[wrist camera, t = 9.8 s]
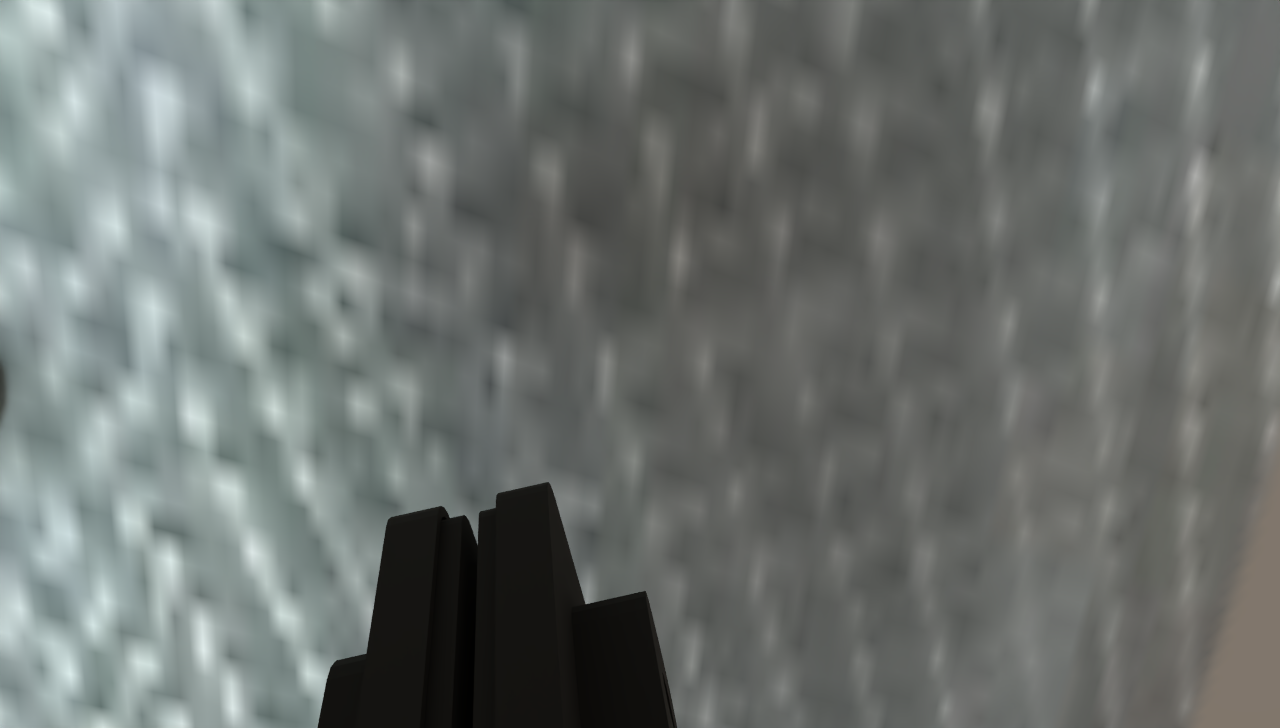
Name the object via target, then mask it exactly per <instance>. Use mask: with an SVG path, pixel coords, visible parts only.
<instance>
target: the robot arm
mask: <svg viewBox="0 0 1280 728" xmlns="http://www.w3.org/2000/svg"><path fill="white" fill-rule="evenodd" d="M318 728H677V724H676V719H675V714H674V709H673V704H672V699H671V694H670V690H669V685H668V680H667V676H666V671H665V667H664V662H663V658H662V653H661V649H660V645H659V641H658V637H657V633H656V629H655V624H654V620H653V616H652V612H651V608H650V604H649V600H648V597H647V593H646V591H643V592H638V593H634V594H630V595H625V596H621V597H616V598H612V599H607V600H603V601H598V602H594V603H590V604H585V601H584V598H583V594H582V591H581V587H580V584H579V580H578V577H577V573H576V570H575V566H574V563H573V559H572V556H571V552H570V549H569V545H568V542H567V538H566V535H565V531H564V528H563V524H562V521H561V517H560V514H559V510H558V507H557V503H556V500H555V496H554V493H553V490H552V488H551V485H550V483H549V482H546V483H542V484H537V485H533V486H528V487H524V488H520V489H515V490H511V491H506V492H502V493H498V494H497V496H496V508H494V509H490V510H485V511H481V512H480V513H479V528H478V545H477V543H476V540H475V537H474V534H473V531H472V528H471V525H470V523H469V520H468V519H467V517H466V516H465V515H463V516H458V517H454V518H450V517H449V515H448V513H447V511H446V510H445V508H444V507H442V506H439V507H435V508H430V509H426V510H421V511H417V512H412V513H408V514H404V515H399V516H395V517H391V518H390V519H388V522H387V525H386V531H385V538H384V544H383V551H382V557H381V564H380V570H379V577H378V583H377V590H376V596H375V603H374V609H373V616H372V622H371V628H370V635H369V641H368V648H367V654H363V655H359V656H355V657H350V658H346V659H341V660H337V661H336V662H335V663H334V664H333V665H332V667H331V668H330V672H329V675H328V678H327V682H326V687H325V692H324V697H323V702H322V708H321V713H320V718H319V723H318Z"/></svg>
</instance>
